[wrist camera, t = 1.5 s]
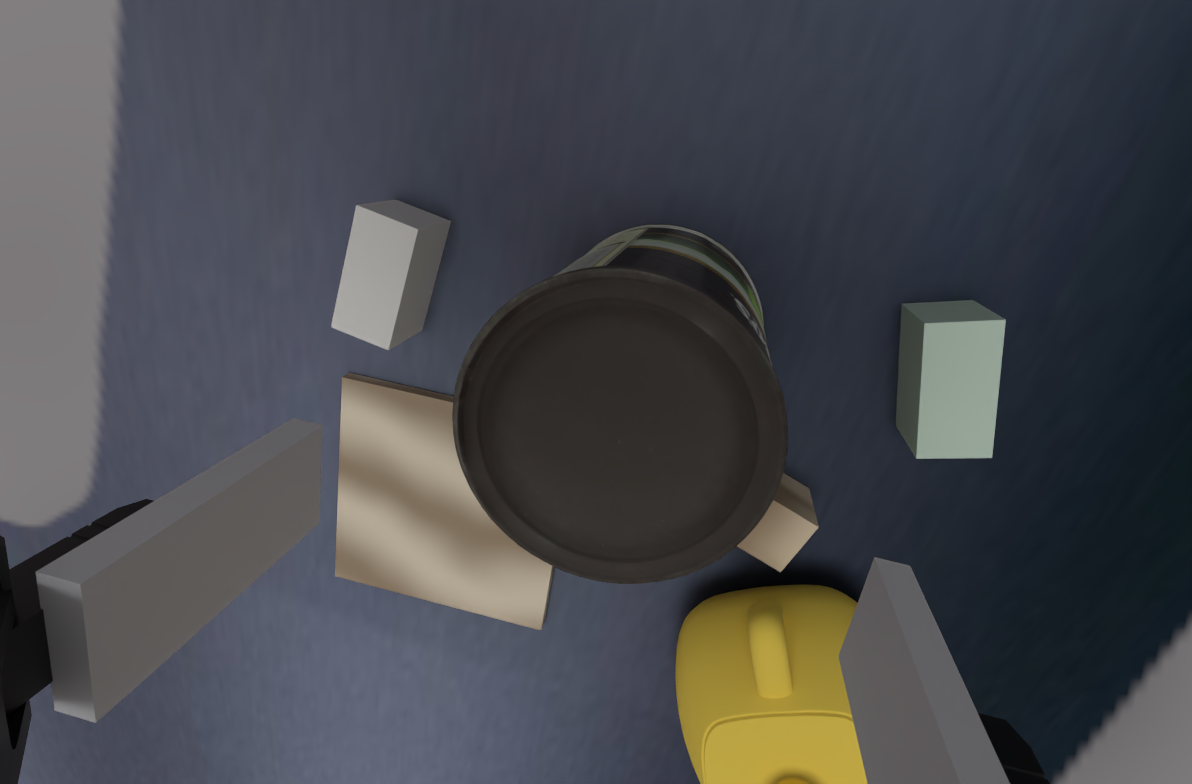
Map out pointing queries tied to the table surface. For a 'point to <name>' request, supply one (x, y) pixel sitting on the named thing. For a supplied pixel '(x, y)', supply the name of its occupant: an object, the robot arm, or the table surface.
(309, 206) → the table surface
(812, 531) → the beech brick
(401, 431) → the trivet
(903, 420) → the pale green brick
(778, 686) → the teapot
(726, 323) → the coffee can
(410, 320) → the off-white brick
